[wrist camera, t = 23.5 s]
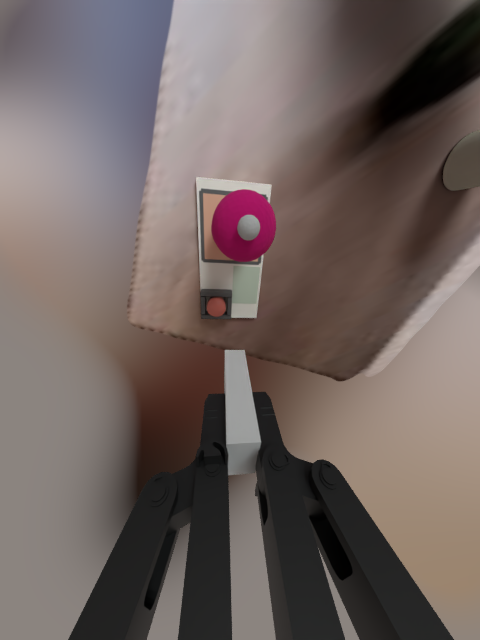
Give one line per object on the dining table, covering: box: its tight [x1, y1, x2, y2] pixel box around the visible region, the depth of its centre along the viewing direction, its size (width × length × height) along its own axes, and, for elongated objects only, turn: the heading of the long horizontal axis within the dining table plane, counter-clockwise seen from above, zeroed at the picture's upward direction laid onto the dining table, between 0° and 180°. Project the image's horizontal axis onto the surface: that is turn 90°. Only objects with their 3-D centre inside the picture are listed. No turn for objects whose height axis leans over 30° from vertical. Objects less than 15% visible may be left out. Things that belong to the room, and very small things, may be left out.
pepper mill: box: [211, 189, 276, 262], centre depth 22 cm, size 7×7×20 cm
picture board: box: [196, 177, 272, 319], centre depth 32 cm, size 12×24×3 cm, turn 177°
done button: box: [207, 296, 226, 317], centre depth 34 cm, size 4×4×2 cm
